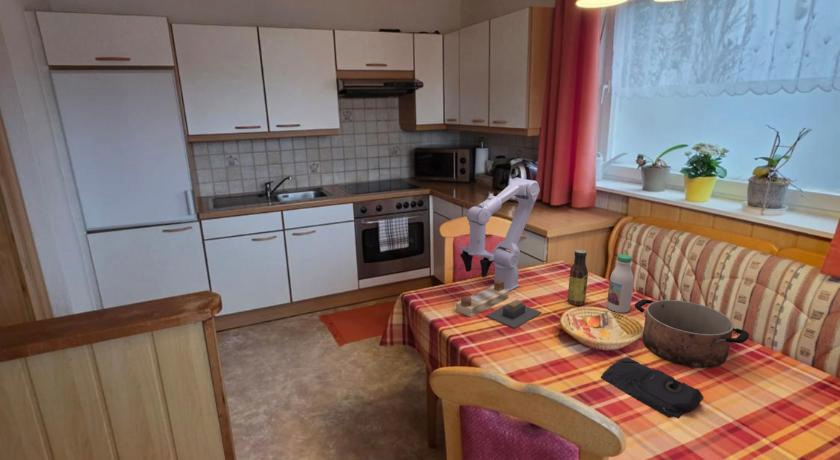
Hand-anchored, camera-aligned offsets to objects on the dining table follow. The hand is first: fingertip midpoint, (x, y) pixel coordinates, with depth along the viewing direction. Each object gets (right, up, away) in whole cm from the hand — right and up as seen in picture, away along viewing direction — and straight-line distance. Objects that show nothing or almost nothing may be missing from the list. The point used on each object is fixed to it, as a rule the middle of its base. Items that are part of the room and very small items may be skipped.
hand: (476, 273), depth 170 cm
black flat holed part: (+39, -25, -51) cm, 69 cm away
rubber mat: (+12, -13, -12) cm, 21 cm away
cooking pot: (+58, -20, -33) cm, 70 cm away
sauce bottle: (+37, -10, -2) cm, 38 cm away
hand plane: (+2, -11, -4) cm, 12 cm away
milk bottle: (+50, -12, -7) cm, 52 cm away
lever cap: (+12, -13, -12) cm, 21 cm away
